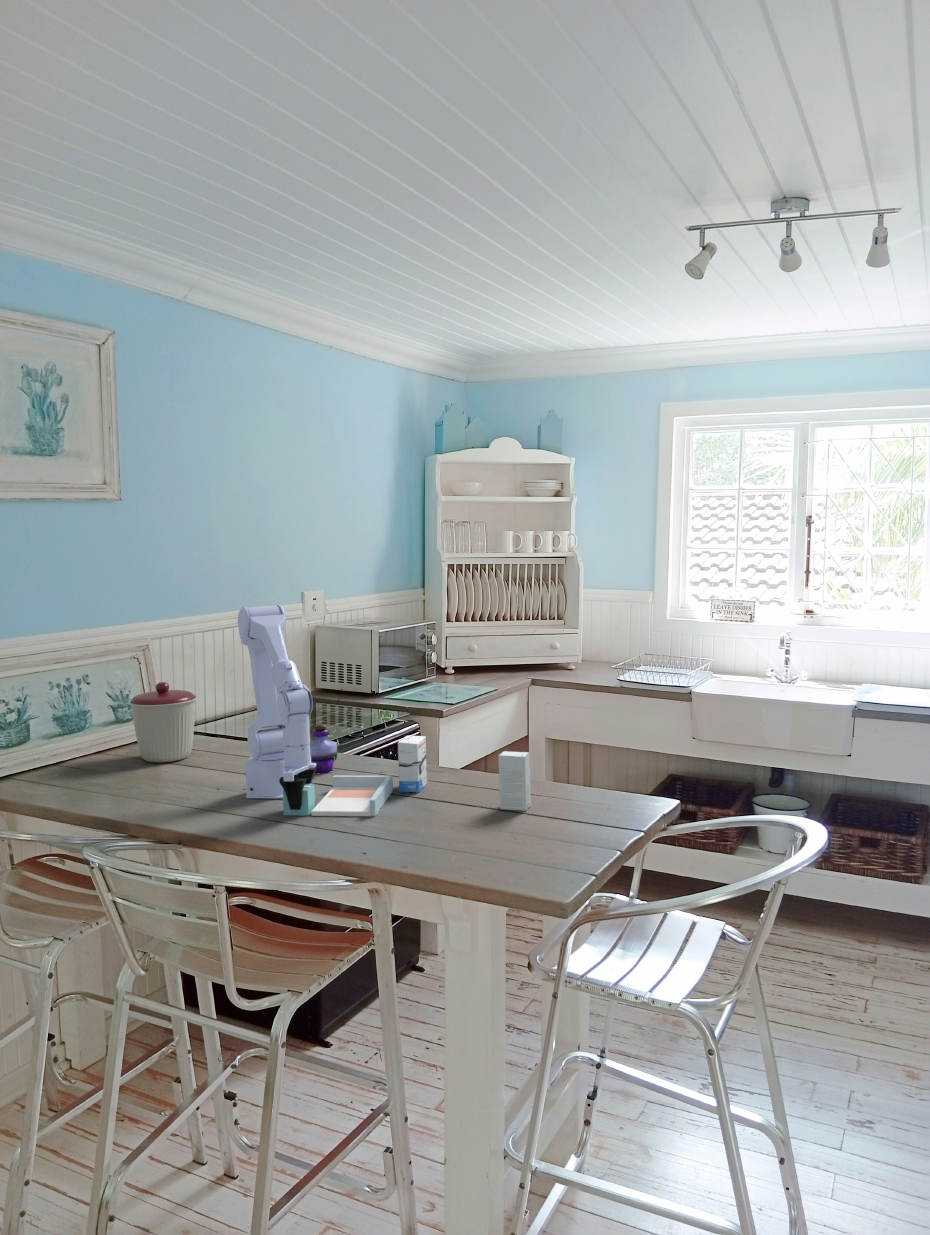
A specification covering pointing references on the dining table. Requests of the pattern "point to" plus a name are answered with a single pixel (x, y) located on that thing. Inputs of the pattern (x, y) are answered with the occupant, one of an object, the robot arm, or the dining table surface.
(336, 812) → the tray
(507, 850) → the dining table surface
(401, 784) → the ink box
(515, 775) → the skincare box
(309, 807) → the cube
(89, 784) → the dining table surface
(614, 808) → the dining table surface
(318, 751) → the potion bottle
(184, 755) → the canister
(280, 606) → the robot arm
